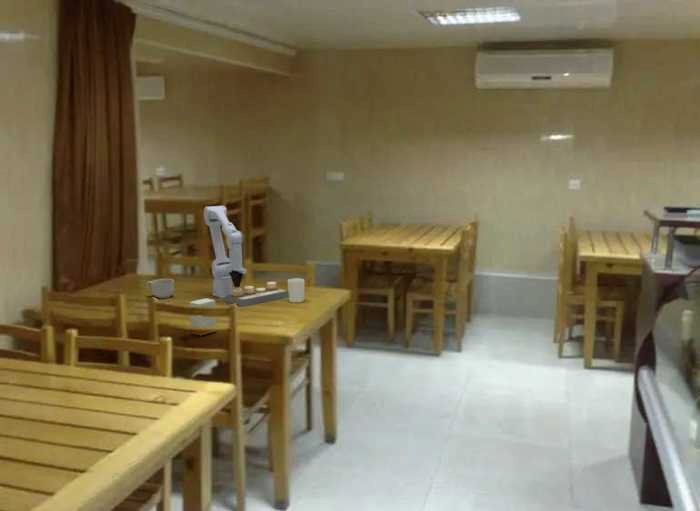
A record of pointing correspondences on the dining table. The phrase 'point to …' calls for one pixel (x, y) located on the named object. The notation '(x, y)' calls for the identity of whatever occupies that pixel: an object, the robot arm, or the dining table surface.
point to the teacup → (161, 287)
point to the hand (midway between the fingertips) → (237, 286)
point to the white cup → (296, 290)
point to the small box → (200, 320)
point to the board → (257, 297)
